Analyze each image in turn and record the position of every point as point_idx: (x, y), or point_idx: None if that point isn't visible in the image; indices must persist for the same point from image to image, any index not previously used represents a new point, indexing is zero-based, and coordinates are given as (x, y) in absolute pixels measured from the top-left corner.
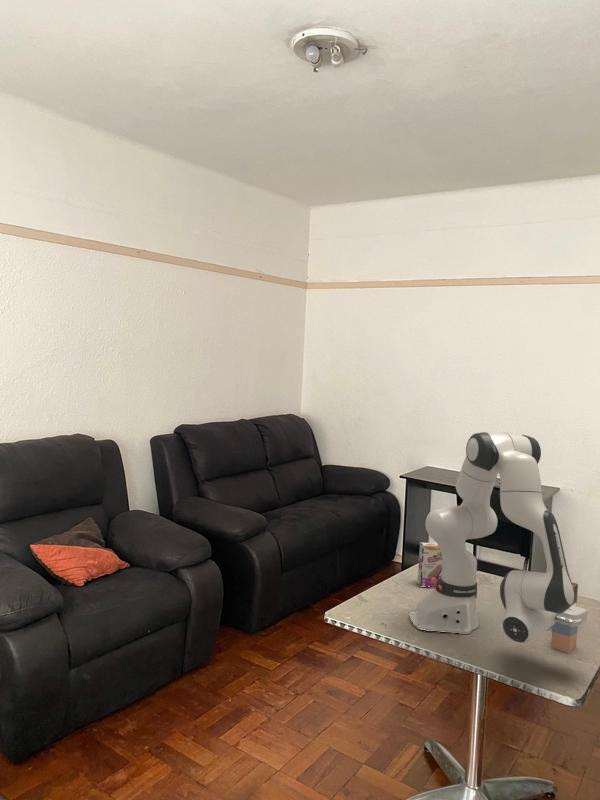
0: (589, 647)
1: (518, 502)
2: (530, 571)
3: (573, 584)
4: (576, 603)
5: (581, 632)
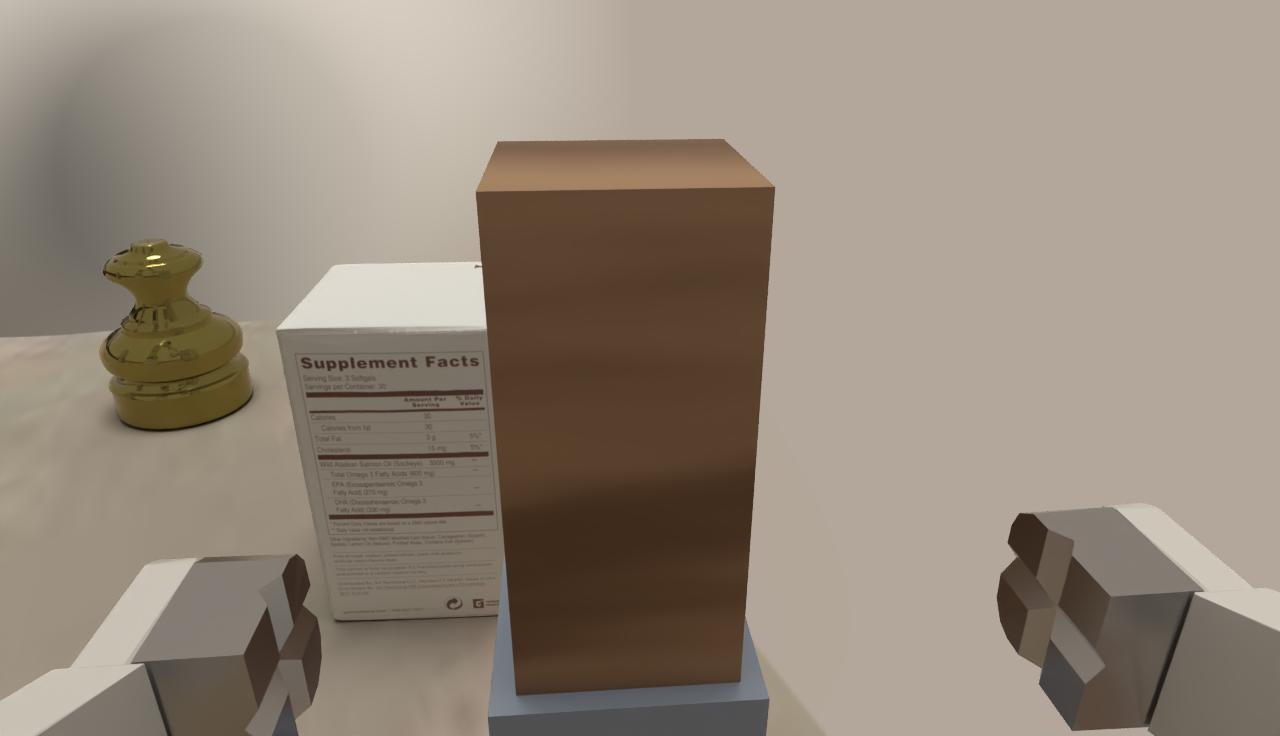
0: (773, 712)
1: None
2: (133, 244)
3: (697, 152)
4: (1151, 509)
5: None
